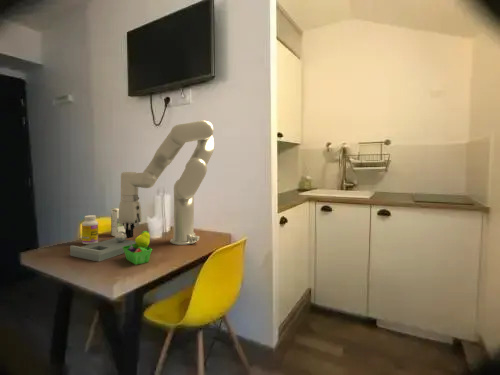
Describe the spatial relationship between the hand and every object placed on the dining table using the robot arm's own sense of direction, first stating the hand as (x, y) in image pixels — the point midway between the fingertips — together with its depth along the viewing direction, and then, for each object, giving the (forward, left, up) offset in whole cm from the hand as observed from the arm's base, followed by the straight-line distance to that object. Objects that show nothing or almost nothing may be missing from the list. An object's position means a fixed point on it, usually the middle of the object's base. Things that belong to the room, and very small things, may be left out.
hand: (129, 237), depth 133 cm
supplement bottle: (+18, +6, -4) cm, 19 cm away
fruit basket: (-20, +15, -4) cm, 26 cm away
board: (0, +12, -3) cm, 13 cm away
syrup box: (+18, -11, -4) cm, 21 cm away
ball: (0, +5, +1) cm, 5 cm away
